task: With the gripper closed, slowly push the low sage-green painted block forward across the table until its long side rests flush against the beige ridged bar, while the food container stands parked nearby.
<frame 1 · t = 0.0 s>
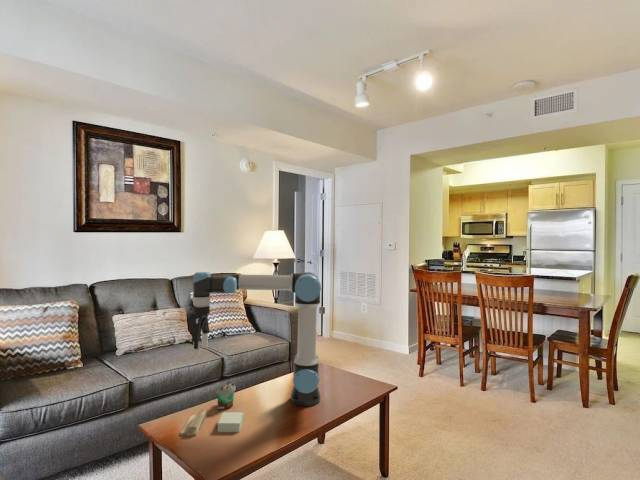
hand: (200, 351, 177), 28 cm above the table, fingers open, 13 cm apart
beige ridged bar: (198, 425, 164), on the table
block: (230, 426, 164), on the table
food container: (228, 407, 183), on the table
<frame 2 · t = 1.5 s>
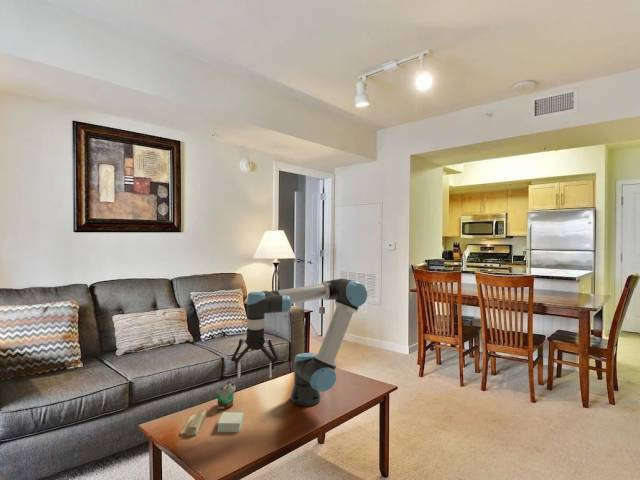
hand: (254, 376, 166), 21 cm above the table, fingers open, 13 cm apart
nothing on the table moved.
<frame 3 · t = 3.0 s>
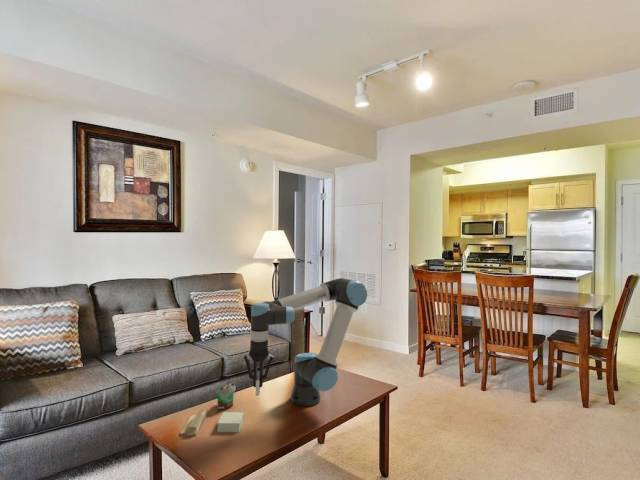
hand: (257, 394, 165), 14 cm above the table, fingers closed
nothing on the table moved.
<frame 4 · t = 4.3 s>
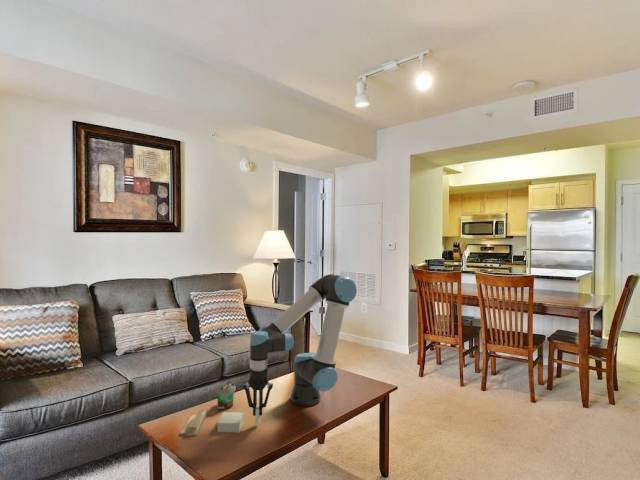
hand: (257, 422, 165), 1 cm above the table, fingers closed
nothing on the table moved.
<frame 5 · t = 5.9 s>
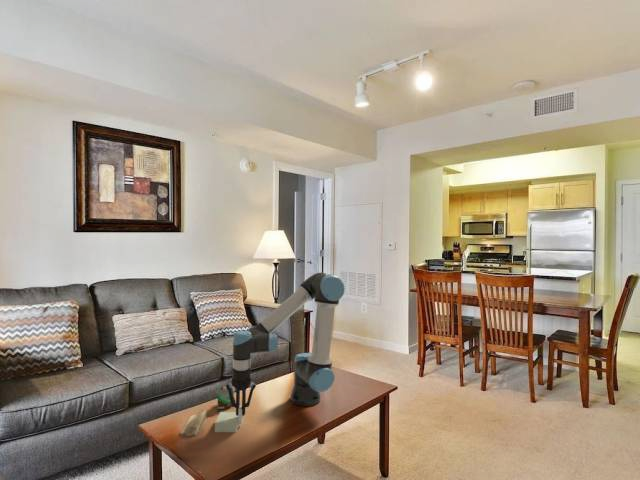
hand: (240, 422, 164), 2 cm above the table, fingers closed
block: (228, 426, 164), on the table
everything else where it was.
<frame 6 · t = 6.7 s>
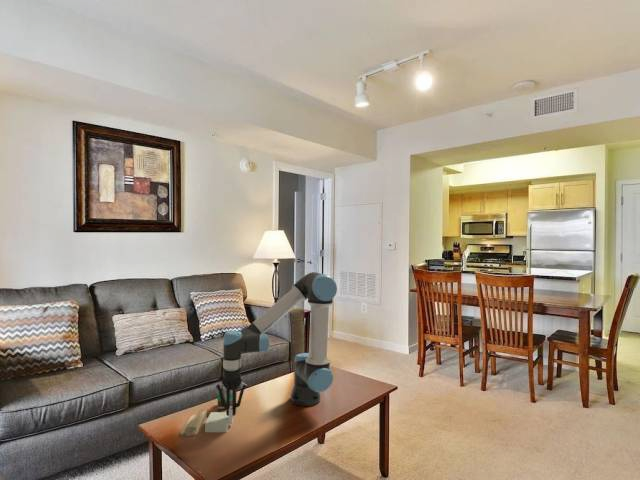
hand: (230, 422, 164), 1 cm above the table, fingers closed
block: (218, 426, 164), on the table, touching gripper
everything else where it was.
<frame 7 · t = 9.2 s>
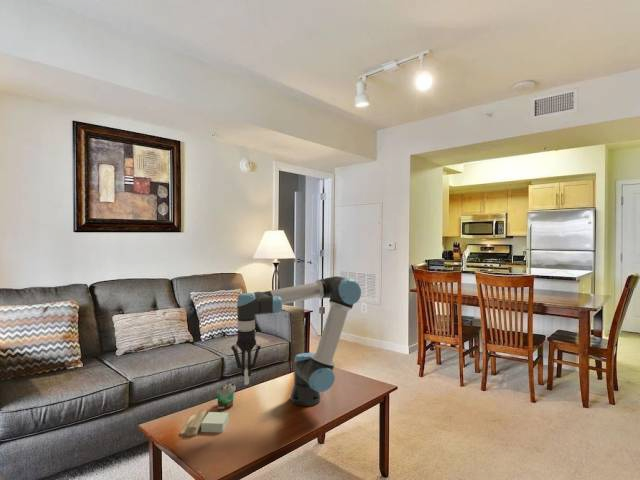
hand: (246, 383, 166), 18 cm above the table, fingers closed
block: (215, 427, 164), on the table
everything else where it was.
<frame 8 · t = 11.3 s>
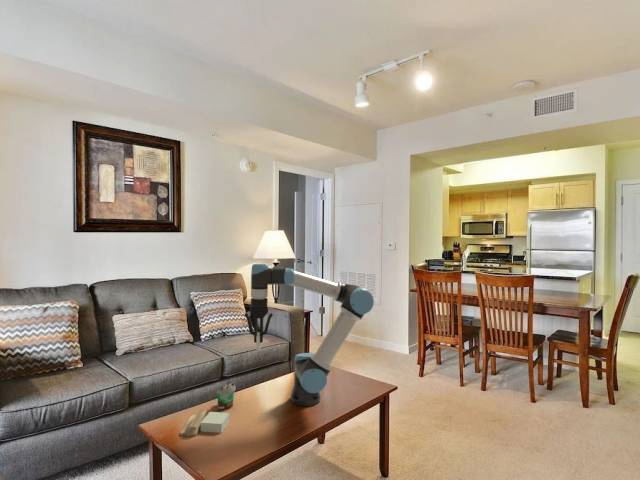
hand: (258, 349, 174), 30 cm above the table, fingers closed
nothing on the table moved.
at the end: block inside the target area on the table beside the beige ridged bar (1.0 cm from its centre), on the table; block tilted 0° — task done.
